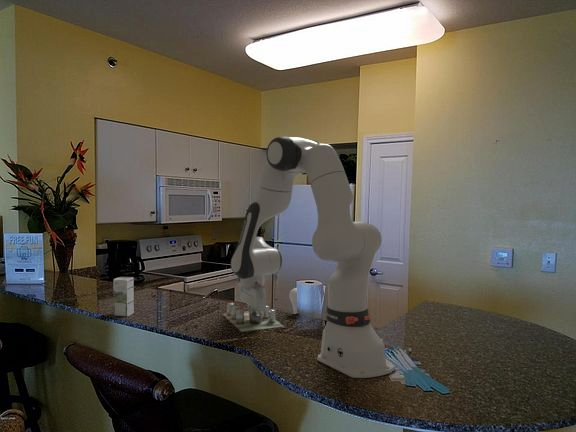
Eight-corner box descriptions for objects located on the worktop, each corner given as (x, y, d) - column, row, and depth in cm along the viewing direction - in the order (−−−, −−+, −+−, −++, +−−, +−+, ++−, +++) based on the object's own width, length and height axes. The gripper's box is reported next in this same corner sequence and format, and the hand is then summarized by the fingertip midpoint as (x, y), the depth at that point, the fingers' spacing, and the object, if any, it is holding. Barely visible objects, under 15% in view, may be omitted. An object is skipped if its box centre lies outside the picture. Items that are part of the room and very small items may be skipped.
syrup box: (134, 313, 163) (134, 276, 163) (127, 317, 157) (126, 279, 157) (120, 312, 164) (120, 276, 163) (112, 316, 158) (112, 279, 158)
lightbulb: (298, 318, 157) (298, 290, 157) (285, 316, 161) (286, 288, 161) (307, 315, 162) (307, 287, 162) (295, 312, 166) (295, 285, 165)
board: (284, 328, 145) (284, 326, 145) (241, 333, 139) (241, 331, 139) (260, 311, 167) (260, 309, 167) (222, 315, 160) (222, 313, 160)
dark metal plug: (263, 323, 148) (263, 315, 148) (251, 324, 146) (251, 316, 146) (259, 320, 152) (259, 312, 152) (247, 321, 150) (247, 313, 150)
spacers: (276, 323, 149) (276, 310, 149) (240, 327, 143) (240, 314, 143) (259, 311, 165) (259, 299, 165) (226, 314, 159) (226, 303, 159)
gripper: (270, 284, 144) (270, 323, 144) (251, 275, 163) (251, 309, 163) (253, 285, 141) (253, 325, 142) (236, 276, 160) (236, 311, 161)
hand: (252, 317), depth 153 cm, fingers closed
